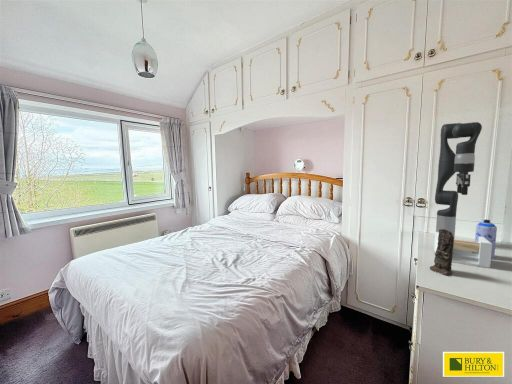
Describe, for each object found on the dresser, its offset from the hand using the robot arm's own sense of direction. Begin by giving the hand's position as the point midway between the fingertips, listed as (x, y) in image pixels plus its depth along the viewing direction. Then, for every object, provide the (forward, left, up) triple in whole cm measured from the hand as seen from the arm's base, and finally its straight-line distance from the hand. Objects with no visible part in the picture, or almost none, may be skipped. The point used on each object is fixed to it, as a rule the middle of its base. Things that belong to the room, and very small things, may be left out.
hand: (461, 193), depth 113 cm
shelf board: (+4, 0, -28) cm, 28 cm away
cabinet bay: (+4, 0, -34) cm, 34 cm away
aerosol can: (-7, +12, -34) cm, 37 cm away
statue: (+25, -10, -34) cm, 44 cm away
